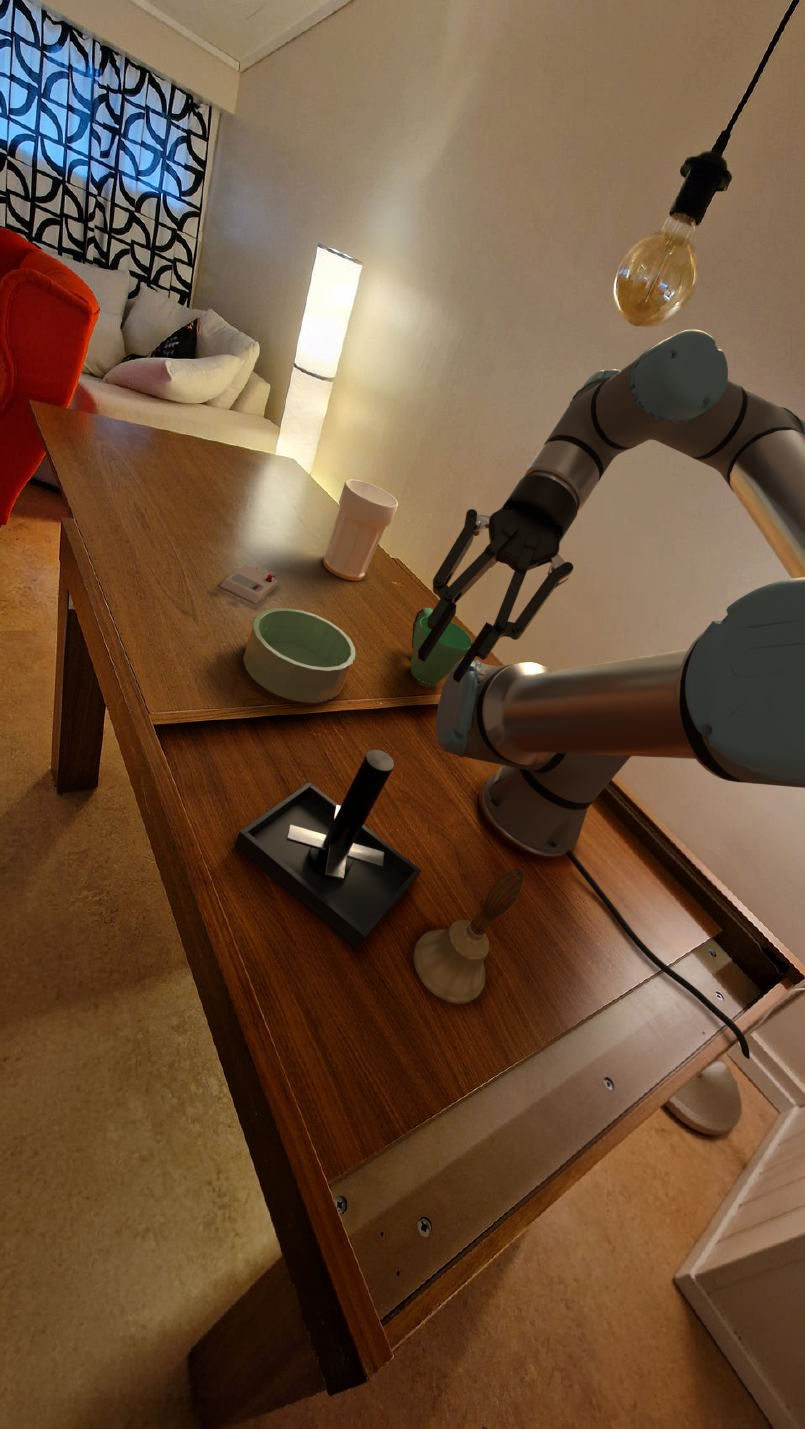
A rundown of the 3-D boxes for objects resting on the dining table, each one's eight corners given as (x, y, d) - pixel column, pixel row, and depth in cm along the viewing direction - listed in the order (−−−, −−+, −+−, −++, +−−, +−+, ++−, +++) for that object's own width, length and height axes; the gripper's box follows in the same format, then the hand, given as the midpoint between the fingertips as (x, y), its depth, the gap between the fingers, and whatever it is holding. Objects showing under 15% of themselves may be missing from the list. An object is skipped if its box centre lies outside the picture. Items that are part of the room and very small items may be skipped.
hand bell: (398, 964, 64) (466, 869, 55) (436, 917, 71) (502, 825, 62) (462, 1021, 62) (543, 932, 53) (495, 967, 68) (572, 880, 60)
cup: (375, 587, 132) (406, 512, 122) (326, 578, 126) (355, 498, 117) (359, 561, 140) (387, 487, 130) (312, 551, 134) (338, 473, 124)
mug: (456, 698, 110) (481, 653, 104) (407, 693, 105) (431, 645, 99) (427, 650, 120) (449, 606, 114) (382, 642, 115) (403, 596, 109)
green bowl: (359, 686, 101) (374, 652, 97) (299, 720, 88) (314, 682, 85) (287, 634, 104) (298, 599, 101) (220, 659, 92) (230, 621, 88)
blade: (377, 841, 75) (431, 745, 66) (372, 910, 67) (432, 812, 58) (289, 814, 73) (332, 712, 64) (272, 883, 65) (320, 777, 56)
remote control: (213, 594, 105) (217, 578, 103) (252, 566, 118) (256, 551, 116) (249, 611, 105) (253, 596, 103) (283, 581, 118) (288, 567, 117)
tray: (413, 883, 73) (421, 870, 72) (356, 951, 63) (365, 937, 62) (302, 795, 77) (309, 781, 76) (233, 846, 67) (239, 831, 66)
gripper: (607, 547, 72) (503, 715, 69) (482, 480, 75) (375, 638, 71) (627, 514, 65) (511, 700, 61) (487, 440, 67) (369, 615, 64)
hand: (438, 666), depth 66 cm, fingers open, 4 cm apart
